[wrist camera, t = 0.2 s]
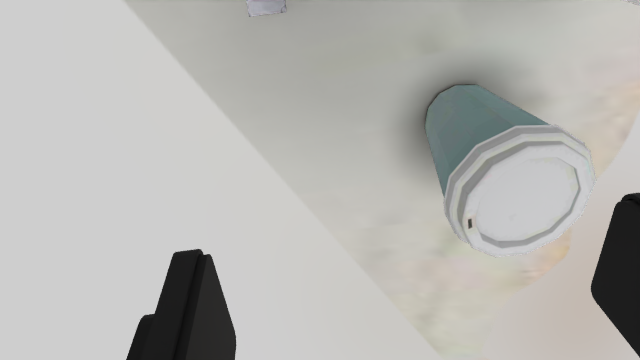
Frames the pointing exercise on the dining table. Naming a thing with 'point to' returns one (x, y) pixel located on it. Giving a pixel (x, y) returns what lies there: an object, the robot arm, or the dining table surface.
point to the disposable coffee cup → (505, 172)
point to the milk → (633, 1)
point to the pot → (265, 7)
